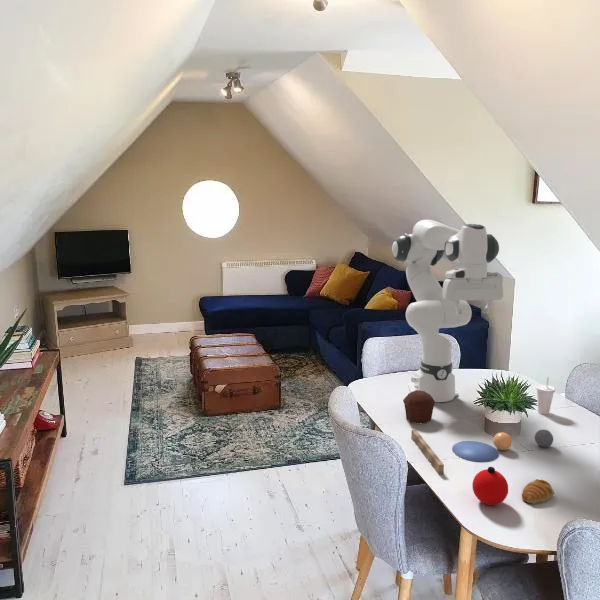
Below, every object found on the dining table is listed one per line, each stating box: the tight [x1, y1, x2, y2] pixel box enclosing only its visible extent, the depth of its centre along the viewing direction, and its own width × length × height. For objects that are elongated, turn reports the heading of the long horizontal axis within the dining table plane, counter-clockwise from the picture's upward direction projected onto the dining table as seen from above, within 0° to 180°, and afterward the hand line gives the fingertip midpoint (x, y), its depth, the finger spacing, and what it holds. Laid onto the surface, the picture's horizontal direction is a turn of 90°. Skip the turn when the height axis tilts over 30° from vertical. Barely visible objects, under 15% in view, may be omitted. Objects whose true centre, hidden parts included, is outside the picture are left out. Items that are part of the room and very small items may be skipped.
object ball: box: [492, 431, 513, 451], centre depth 178 cm, size 6×6×6 cm
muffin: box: [402, 390, 436, 425], centre depth 202 cm, size 12×11×10 cm
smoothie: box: [535, 376, 556, 416], centre depth 205 cm, size 6×6×14 cm
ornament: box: [471, 466, 509, 506], centre depth 148 cm, size 9×9×10 cm
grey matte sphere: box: [534, 429, 554, 448], centre depth 180 cm, size 6×6×6 cm
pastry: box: [521, 478, 555, 505], centre depth 151 cm, size 9×7×4 cm
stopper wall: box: [410, 429, 445, 475], centre depth 175 cm, size 24×2×3 cm, turn 8°
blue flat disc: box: [451, 440, 499, 463], centre depth 178 cm, size 14×14×1 cm
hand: (472, 313), depth 190 cm, fingers open, 8 cm apart
